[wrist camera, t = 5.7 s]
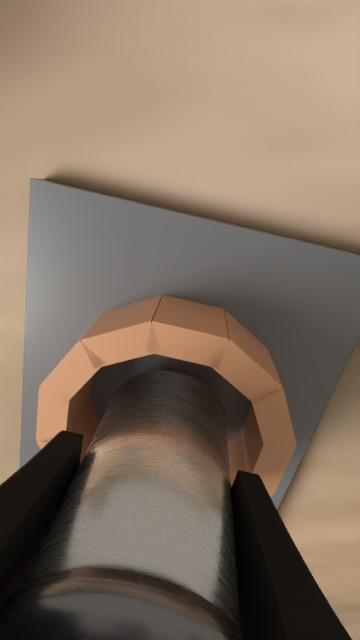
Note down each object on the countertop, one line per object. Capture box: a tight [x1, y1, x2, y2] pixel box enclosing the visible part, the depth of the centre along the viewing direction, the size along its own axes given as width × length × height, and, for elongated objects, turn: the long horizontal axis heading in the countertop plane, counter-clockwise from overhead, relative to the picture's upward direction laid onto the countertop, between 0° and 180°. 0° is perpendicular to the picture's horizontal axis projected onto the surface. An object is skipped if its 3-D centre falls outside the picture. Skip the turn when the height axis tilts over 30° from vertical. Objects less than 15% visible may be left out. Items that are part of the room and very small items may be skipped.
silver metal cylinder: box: [0, 370, 246, 640], centre depth 9 cm, size 5×5×7 cm
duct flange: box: [20, 178, 360, 509], centre depth 12 cm, size 14×12×3 cm
